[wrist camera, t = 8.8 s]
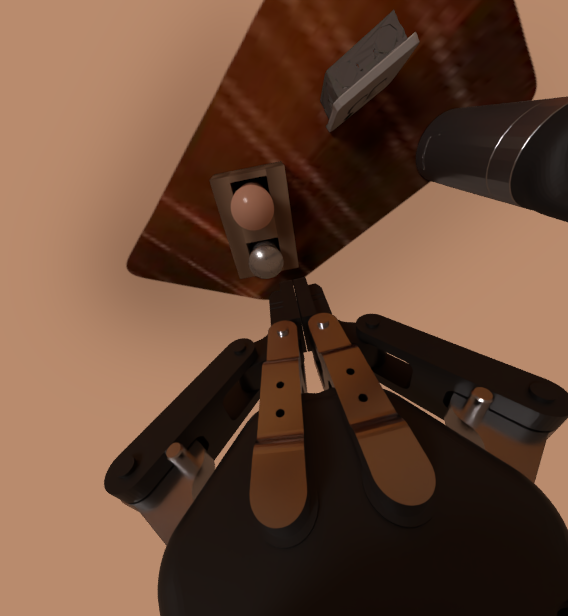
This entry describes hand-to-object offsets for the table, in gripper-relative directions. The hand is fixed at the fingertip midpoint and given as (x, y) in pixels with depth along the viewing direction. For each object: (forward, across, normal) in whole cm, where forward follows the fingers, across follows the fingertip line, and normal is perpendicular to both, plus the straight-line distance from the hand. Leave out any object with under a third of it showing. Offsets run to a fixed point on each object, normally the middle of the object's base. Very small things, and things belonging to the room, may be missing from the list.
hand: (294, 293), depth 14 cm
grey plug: (+29, +3, +8) cm, 30 cm away
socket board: (+30, +3, +4) cm, 30 cm away
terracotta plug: (+27, +3, 0) cm, 27 cm away
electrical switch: (+30, -12, -10) cm, 34 cm away
